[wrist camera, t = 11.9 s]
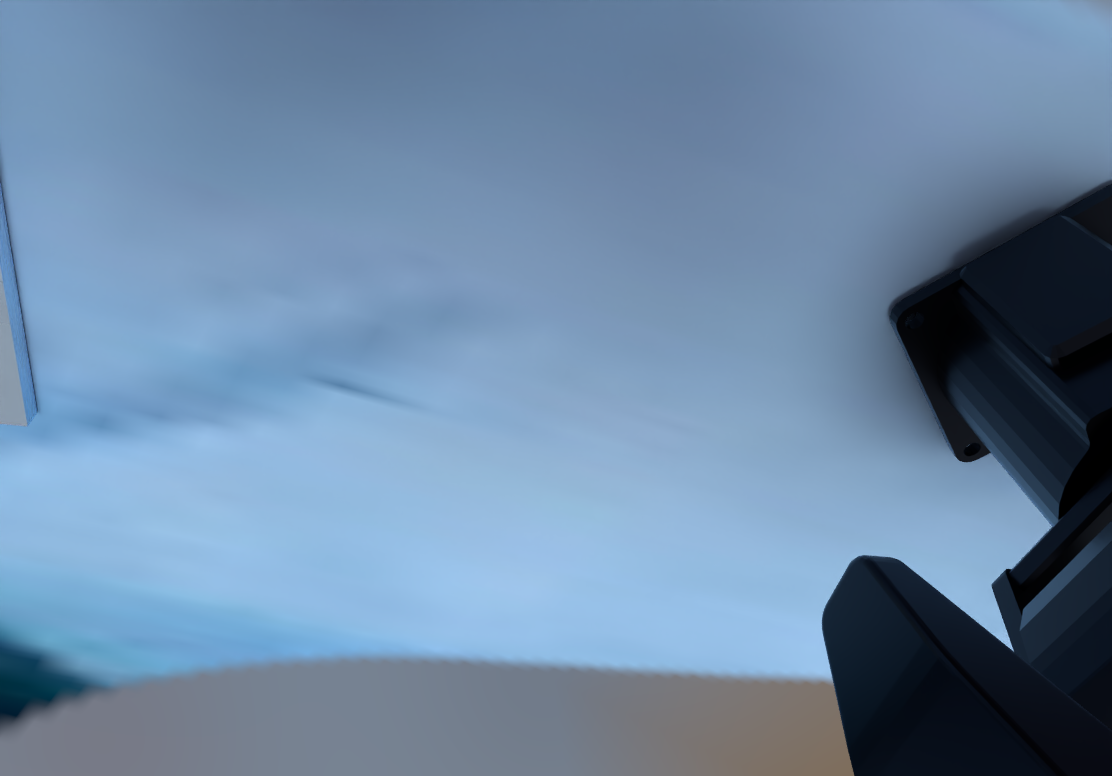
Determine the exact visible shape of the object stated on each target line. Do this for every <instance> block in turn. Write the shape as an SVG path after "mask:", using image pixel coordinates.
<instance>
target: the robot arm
mask: <svg viewBox="0 0 1112 776" xmlns="http://www.w3.org/2000/svg"><path fill="white" fill-rule="evenodd" d="M916 312H917V314H916V316H915V317H914V318H913V319H912V320H910V321H907V322H905V321H906V319H907V317H909V316H910V315H911V314H913V313H916ZM890 322H891V325H892V327H893V329H894V331H895V333H896V335H897V337H898V340H899V342H900V344H901V346H902V348H903V350H904V352H905V355H906V357H907V359H908V361H909V363H910V365H911V367H912V369H913V372H914V374H915V376H916V378H917V380H918V382H919V384H920V387H921V389H922V391H923V393H924V395H925V397H926V399H927V401H928V404H929V406H930V408H931V410H932V412H933V414H934V416H935V419H936V421H937V423H938V425H939V427H940V429H941V431H942V434H943V436H944V438H945V440H946V442H947V444H948V446H949V448H950V450H951V451H952V453H953V454H954V455H955V456H956V458H957V459H958V460H959V461H962V462H972V461H974V460H977V459H979V458H981V457H983V456H985V455H987V454H989V453H992V454H993V456H994V457H995V458H996V459H997V460H998V462H999V463H1000V464H1001V465H1002V466H1003V468H1004V469H1005V470H1006V471H1007V472H1008V474H1009V475H1010V476H1011V477H1012V478H1013V480H1014V481H1015V482H1016V483H1017V484H1018V486H1019V487H1020V488H1021V489H1022V490H1023V492H1024V493H1025V494H1026V495H1027V496H1028V498H1029V499H1030V500H1031V501H1032V502H1033V504H1034V505H1035V506H1036V507H1037V508H1038V510H1039V511H1040V512H1041V513H1042V514H1043V516H1044V517H1045V518H1046V519H1047V520H1048V522H1049V523H1050V524H1051V525H1052V526H1053V527H1052V528H1051V529H1050V530H1049V531H1048V532H1047V533H1046V534H1045V535H1044V536H1043V537H1042V538H1041V539H1040V540H1039V541H1038V542H1037V543H1036V545H1035V546H1034V547H1033V548H1032V549H1031V550H1030V551H1029V552H1028V553H1027V554H1026V555H1025V556H1024V557H1023V558H1022V559H1021V560H1020V561H1019V562H1018V563H1017V564H1016V566H1015V567H1014V568H1013V569H1006V570H1005V571H1004V572H1003V573H1002V574H1001V575H1000V576H999V577H998V578H997V579H996V580H995V581H994V583H993V584H992V589H993V592H994V595H995V598H996V601H997V604H998V607H999V609H1000V612H1001V615H1002V618H1003V621H1004V624H1005V627H1006V630H1007V632H1008V635H1009V638H1010V641H1011V644H1012V647H1013V650H1014V652H1013V651H1012V650H1011V649H1010V648H1008V647H1007V646H1006V645H1005V644H1003V643H1002V642H1001V641H1000V640H998V639H997V638H996V637H995V636H994V635H992V634H991V633H990V632H989V631H987V630H986V629H985V628H984V627H982V626H981V625H980V624H979V623H977V622H976V621H975V620H974V619H972V618H971V617H970V616H969V615H967V614H966V613H965V612H964V611H962V610H961V609H960V608H959V607H957V606H956V605H955V604H954V603H952V602H951V601H950V600H949V599H948V598H946V597H945V596H944V595H943V594H941V593H940V592H939V591H938V590H936V589H935V588H934V587H933V586H931V585H930V584H929V583H928V582H926V581H925V580H924V579H923V578H921V577H920V576H919V575H918V574H916V573H915V572H914V571H913V570H911V569H910V568H909V567H908V566H907V565H905V564H904V563H903V562H901V561H900V560H897V559H895V558H891V557H880V556H868V555H862V556H858V557H857V558H855V559H854V560H852V561H851V563H850V564H849V566H848V567H847V569H846V571H845V573H844V574H843V576H842V578H841V580H840V581H839V583H838V585H837V587H836V588H835V590H834V592H833V594H832V595H831V597H830V599H829V601H828V602H827V604H826V606H825V608H824V612H823V617H822V631H823V636H824V641H825V646H826V650H827V655H828V660H829V664H830V669H831V674H832V678H833V683H834V688H835V692H836V697H837V701H838V706H839V711H840V715H841V720H842V725H843V729H844V734H845V738H846V743H847V748H848V752H849V756H850V760H851V764H852V768H853V772H854V776H1112V184H1111V185H1109V186H1107V187H1105V188H1103V189H1101V190H1100V191H1098V192H1096V193H1094V194H1092V195H1091V196H1089V197H1087V198H1085V199H1083V200H1082V201H1080V202H1078V203H1076V204H1074V205H1073V206H1071V207H1069V208H1067V209H1065V210H1064V211H1062V212H1060V213H1058V214H1056V215H1055V216H1053V217H1051V218H1049V219H1047V220H1046V221H1044V222H1042V223H1040V224H1038V225H1037V226H1035V227H1033V228H1031V229H1029V230H1027V231H1026V232H1024V233H1022V234H1020V235H1018V236H1017V237H1015V238H1013V239H1011V240H1009V241H1008V242H1006V243H1004V244H1002V245H1000V246H999V247H997V248H995V249H993V250H991V251H990V252H988V253H986V254H984V255H982V256H981V257H979V258H977V259H975V260H973V261H972V262H970V263H968V264H966V265H964V266H963V267H961V268H959V269H957V270H955V271H954V272H952V273H950V274H948V275H946V276H944V277H943V278H941V279H939V280H937V281H935V282H934V283H932V284H930V285H928V286H926V287H925V288H923V289H921V290H919V291H917V292H916V293H914V294H912V295H910V296H908V297H907V298H905V299H903V300H901V301H900V302H899V303H897V304H896V305H895V307H894V308H893V309H892V311H891V314H890ZM969 444H970V445H969ZM968 445H969V446H968ZM966 446H968V447H966Z"/></svg>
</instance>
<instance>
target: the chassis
mask: <svg viewBox="0 0 1112 776" xmlns="http://www.w3.org/2000/svg"><path fill="white" fill-rule="evenodd" d="M36 413H37V408H36V401H35V395H34V389H33V383H32V377H31V370H30V364H29V358H28V352H27V346H26V339H25V333H24V327H23V321H22V315H21V308H20V302H19V296H18V290H17V284H16V277H15V271H14V265H13V259H12V253H11V246H10V240H9V234H8V228H7V222H6V215H5V209H4V203H3V197H2V191H1V184H0V424H7V425H18V426H28V425H29V424H30V422H31V421H32V419H33V418H34V416H35V415H36Z"/></svg>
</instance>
